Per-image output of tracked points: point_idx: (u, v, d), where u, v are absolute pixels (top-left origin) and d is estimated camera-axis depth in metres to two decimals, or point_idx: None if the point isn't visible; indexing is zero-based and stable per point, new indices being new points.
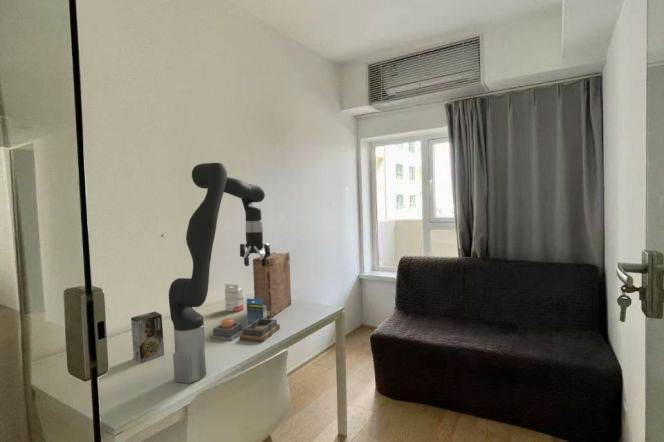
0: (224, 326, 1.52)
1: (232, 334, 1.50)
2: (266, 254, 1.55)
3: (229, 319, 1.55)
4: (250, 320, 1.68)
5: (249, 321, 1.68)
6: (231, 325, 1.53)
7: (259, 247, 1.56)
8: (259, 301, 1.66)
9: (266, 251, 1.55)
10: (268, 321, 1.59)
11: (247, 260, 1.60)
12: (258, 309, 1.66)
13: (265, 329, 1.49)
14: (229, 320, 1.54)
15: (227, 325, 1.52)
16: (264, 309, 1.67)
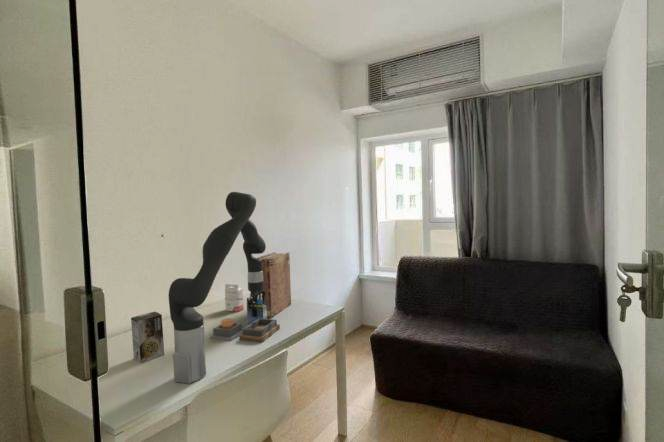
0: (224, 326, 1.52)
1: (232, 334, 1.50)
2: (263, 301, 1.73)
3: (229, 319, 1.55)
4: (250, 320, 1.68)
5: (249, 321, 1.68)
6: (231, 325, 1.53)
7: None
8: (259, 301, 1.66)
9: (263, 298, 1.73)
10: (268, 321, 1.59)
11: None
12: (258, 309, 1.66)
13: (265, 329, 1.49)
14: (229, 320, 1.54)
15: (227, 325, 1.52)
16: (264, 309, 1.67)
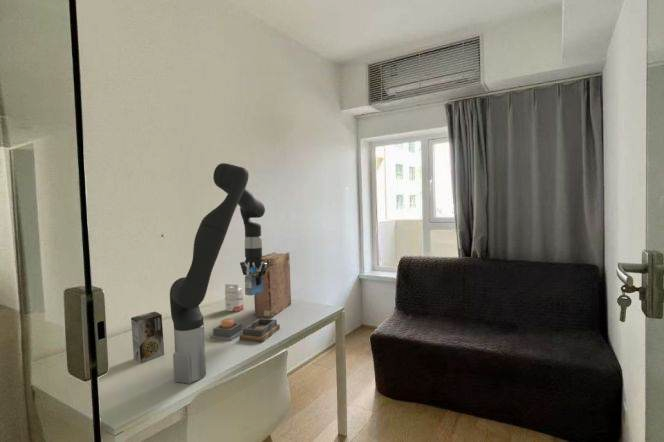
0: (224, 326, 1.52)
1: (232, 334, 1.50)
2: None
3: (229, 319, 1.55)
4: (254, 290, 1.53)
5: (253, 292, 1.52)
6: (231, 325, 1.53)
7: None
8: None
9: None
10: (268, 321, 1.59)
11: None
12: None
13: (265, 329, 1.49)
14: (229, 320, 1.54)
15: (227, 325, 1.52)
16: None
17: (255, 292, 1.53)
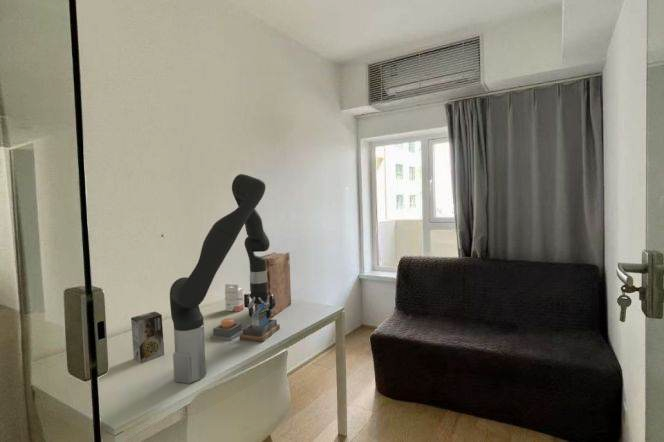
0: (224, 326, 1.52)
1: (232, 334, 1.50)
2: None
3: (229, 319, 1.55)
4: (261, 328, 1.51)
5: None
6: (231, 325, 1.53)
7: None
8: None
9: None
10: None
11: None
12: None
13: (265, 329, 1.49)
14: (229, 320, 1.54)
15: (227, 325, 1.52)
16: None
17: None
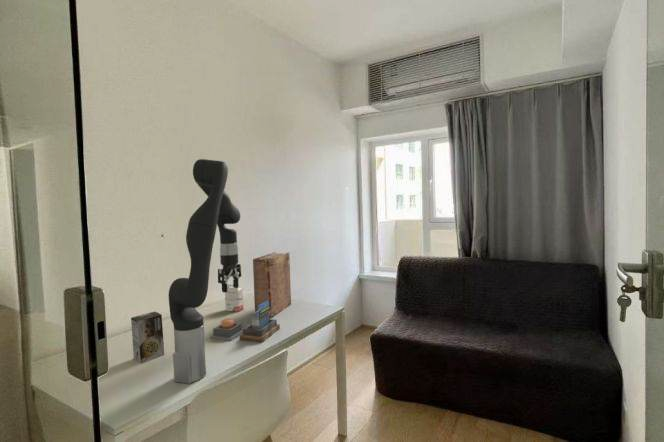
0: (224, 326, 1.52)
1: (232, 334, 1.50)
2: (240, 274, 1.59)
3: (229, 319, 1.55)
4: (261, 328, 1.51)
5: None
6: (231, 325, 1.53)
7: (235, 268, 1.55)
8: (266, 303, 1.55)
9: (240, 271, 1.59)
10: None
11: None
12: (266, 312, 1.54)
13: (265, 329, 1.49)
14: (229, 320, 1.54)
15: (227, 325, 1.52)
16: None
17: None
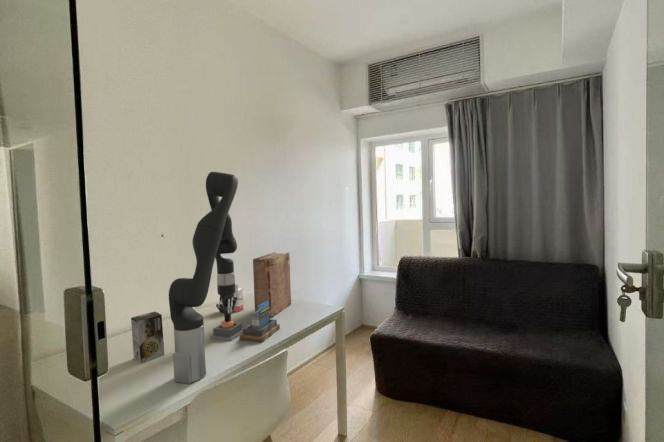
0: (224, 327, 1.52)
1: (232, 334, 1.50)
2: (233, 307, 1.56)
3: None
4: (261, 328, 1.51)
5: None
6: (231, 326, 1.53)
7: None
8: (266, 303, 1.55)
9: (234, 304, 1.57)
10: None
11: None
12: (266, 312, 1.54)
13: (265, 329, 1.49)
14: (229, 321, 1.54)
15: (227, 326, 1.52)
16: None
17: None
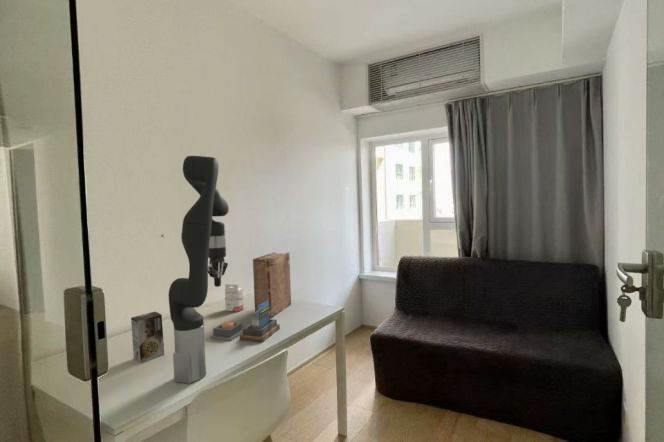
0: None
1: (232, 334, 1.50)
2: (223, 272, 1.53)
3: (229, 322, 1.55)
4: (261, 328, 1.51)
5: None
6: None
7: (222, 265, 1.52)
8: (266, 303, 1.55)
9: (225, 269, 1.54)
10: None
11: None
12: (266, 312, 1.54)
13: (265, 329, 1.49)
14: (229, 323, 1.54)
15: (227, 328, 1.52)
16: None
17: None
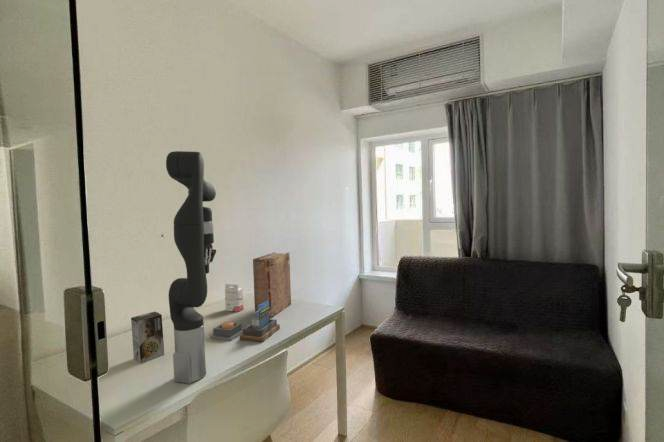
0: None
1: (232, 334, 1.50)
2: (212, 259, 1.49)
3: (229, 322, 1.55)
4: (261, 328, 1.51)
5: None
6: None
7: (210, 251, 1.48)
8: (266, 303, 1.55)
9: (213, 256, 1.50)
10: None
11: None
12: (266, 312, 1.54)
13: (265, 329, 1.49)
14: (229, 323, 1.54)
15: (227, 328, 1.52)
16: None
17: None
